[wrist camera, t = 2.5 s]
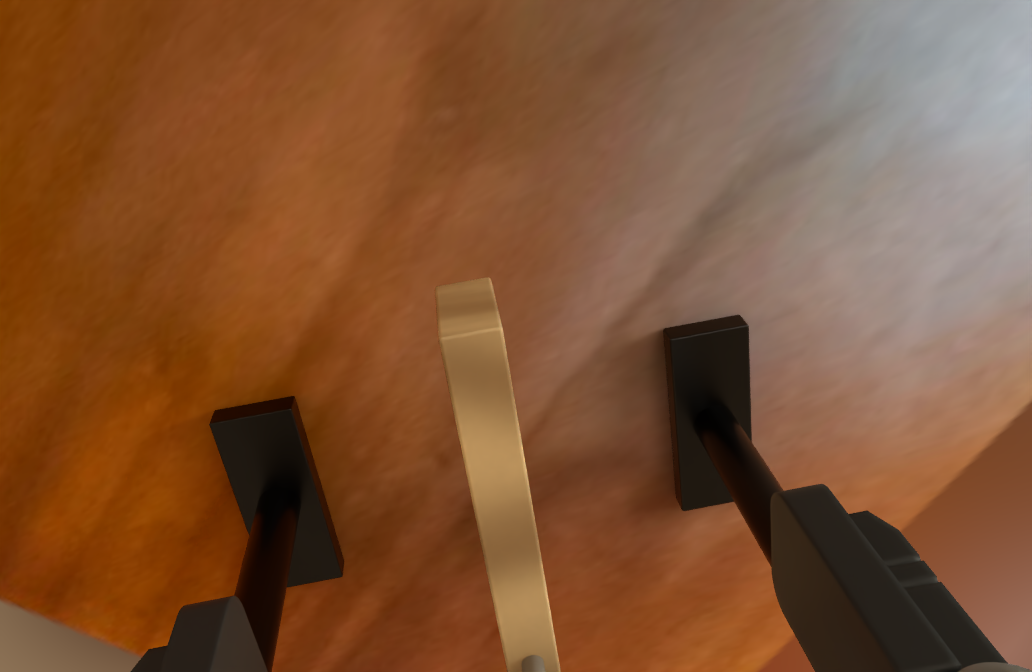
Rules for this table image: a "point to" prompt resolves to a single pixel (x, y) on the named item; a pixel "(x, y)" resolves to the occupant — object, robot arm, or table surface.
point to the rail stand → (306, 518)
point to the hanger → (496, 471)
